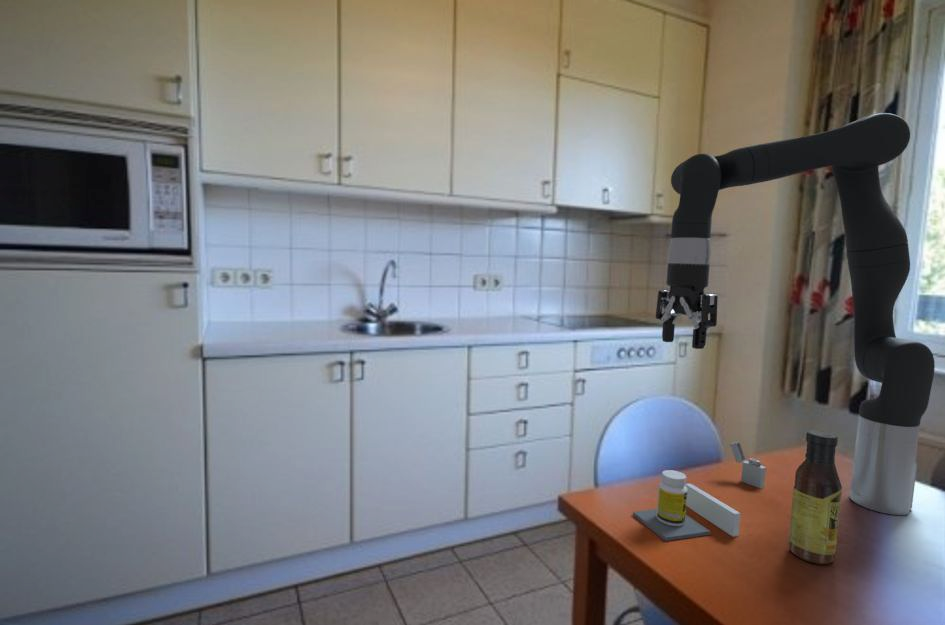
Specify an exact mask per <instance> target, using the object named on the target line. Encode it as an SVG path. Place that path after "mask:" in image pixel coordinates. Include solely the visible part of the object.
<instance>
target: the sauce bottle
mask: <svg viewBox="0 0 945 625" xmlns="http://www.w3.org/2000/svg"><path fill="white" fill-rule="evenodd" d="M805 435H806V437H805V441H806V443H807V444H806V451H805V459H804V461H802V463H801V464H799V466H798V467H797V468H796V471H795V477H794V478H795V479H794V486H793V490H792V499H791V500H792V501H791V511H790V512H791V513H790V521H789V522H790V525H789V535H788V539H789V544H788V548H789V550H790V552H791V553H792V554H794V556H796V557H797V558H800V559H802V560H803V561H807V562H810V563H812V564H817V565H829V564H831V563H832V562H833V561H834V558H835V554H836V552H837V543H838V542H837V541H838V532H839V525H840V524H839V523H840V513H841V501H842V494H843V493H842V492H843V491H842V490H843V487H842V483H841V480H840V476H839V474H838V469H837V466H836V462H835V461H836V460H835V456H836V447H837V446H838V439H839V438H838V435H837V434H834V433H831V432H827V431H824V430H815V429H814V430H813V429H811V430H807V431H806V434H805Z"/></svg>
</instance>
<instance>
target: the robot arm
mask: <svg viewBox="0 0 945 625" xmlns="http://www.w3.org/2000/svg"><path fill="white" fill-rule="evenodd" d="M910 141H911V129H910V126H909V124H908V123H907V122H906V120H905V119H904V118H902V117H901V116H900V115H896V114H893V113H889V112H888V113H887V112H885V113H884V112H880V113H874V114H871V115H868V116H864V117H861V118H860V119H857V120H855V121H852V122H850V123H847V124H845V125H843V126H842V127H838V128H835V129H830V130H826V131H823V132H819V133H815V134H809V135H805V136H804V135H803V136H800V137H799V136H798V137H794V138H793V137H792V138H789V139H782V140H776V141H771V142H765V143H760V144H759V143H758V144H755V145H750V146H744V147H739V148H737V149H734V150H730V151H728V152H726V153H723V154H720V155H719V154H718V155H715V156H713V155H712V154H708V153H698V154H695V155H692V156H690V157H688V158H687V159H685V160H684V161H683V162H680V164H679V165H677V166H676V167H675V168H674V170H673V172H672V173H671V177H670V184H671V186H672V189H673V190H674V192H676V193H677V194H678V195H679V202H678V206H677V208H676V210H675V211H674V212H673V215H672V221H671V235H670V244H669V247H668V254H667V268H666V269H667V270H666V283H665V284H666V285H667V286H669V287H670V288H669V290H658V292H657V293H658V294H657V300H656V301H657V302H656V311H655V318H656V319H657V320H660V322H661V323H662V332H661V334H662V335H661V338H662V342H665V343H673V342H674V340H675V329H676V328H675V327H676V326H675V325H676V324H675V322H676V321H677V319H678V317H680V316H682V315H683V316H686V317H687V319H688V320H690V321H691V323H692V325H693V330H692V342H691V344H692V345H691V347H692V348H693V349H694V350H700V349H701V350H704V348H705V346H706V343H707V342H706V341H707V331H708V329H709V328H712V327H713V328H715V327H716V326H717V324H718V323H717V322H718V319H717V318H718V294H715V293H711V294H710V293H705V288H707V287H708V286H709V281H710V280H709V278H710V264H711V256H712V255H711V253H712V252H711V251H712V250H711V236H712V235H711V234H712V223H713V222H712V217H713V211H714V209H715V206H716V203H717V198H718V195H719V191H720V190H725V189H729V188H735V187H742V186H743V187H745V186H749V185H750V186H751V185H755V184H758V183H765V182H770V181H774V180H778V179H783V178H785V177H786V178H787V177H790V176H793V175H797V174H802V173H806V172H808V171H813V170H819V169H823V168H827V167H831V168H832V173H833V176H834V181H835V185H836V188H837V191H838V195H839V197H838V198H839V201H840V208H841V216H842V222H843V224H842V225H843V229H844V236H845V250H846V257H847V258H846V259H847V264H848V266H847V267H848V273H849V278H850V286H851V294H852V306H853V316H854V317H853V321H854V324H853V325H854V328H853V329H854V330H853V333H854V334H853V335H854V337H853V349H854V350H853V353H854V354H853V355H854V362H855V366H856V367H857V368H856V369H857V370H858V371H859V373H860V374H861V376H863V377H865V378H866V379H868V380H870V381H872V382H873V381H874V382H877V383H881V387H880V390H879V394H878V396H877V397H876V398H872V399H869V398H868V399H865V400H862V401H861V402H860V405H859V408H858V409H859V410H858V418H857V419H858V420H857V428H856V429H857V431H856V438H855V446H854V458H853V465H852V466H853V467H852V475H851V483H850V492H849V494H850V495H849V498H850V499H851V501H853V502H854V503H855V504H856V505H859V506H861V507H863V508H866V509H869V510H871V511H875V512H877V513H878V512H879V513H882V514H888V515H892V516H893V515H894V516H906V515H908V514H910V510H911V509H913V501H914V494H915V486H916V476H917V470H918V469H917V468H918V463H917V461H916V460H917V453H918V452H917V450H918V445H919V444H918V443H919V435H920V427H921V420H922V418H923V416H924V415H925V413H926V411H927V409H928V406H929V402H930V397H931V391H932V387H933V381H934V377H935V376H934V375H935V369H936V368H935V367H936V366H935V365H936V364H935V363H936V362H935V358H934V354H933V353H932V352H933V351H931V349H930V348H929V347H928V346H927V345H926V344H924V343H922V342H920V341H915V340H910V339H906V338H899V337H897V336H896V331H895V325H894V309H895V308H894V307H895V304H896V302H897V299H898V297H899V295H900V293H901V292H902V289H903V287H904V286H905V283H906V282H907V280H908V278H909V274H910V270H911V259H910V258H911V256H910V251H909V249H910V248H909V240H908V236H907V232H906V230H905V229H906V228H904V226H903V223H902V222H901V220H900V219H899V218H898V216H897V214H896V213H895V211H893V209H892V207H891V206H890V205H889V203H888V202H887V200H886V198H885V196H884V193H883V191H882V187H881V181H880V173H879V167H880V166H882V165H884V164H887V163H889V162H892V161H893V160H895V159H897V158H898V157H900V156H901V155H902V153H904V152H905V150H906V149H907V147H908V146H909V143H910Z"/></svg>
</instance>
